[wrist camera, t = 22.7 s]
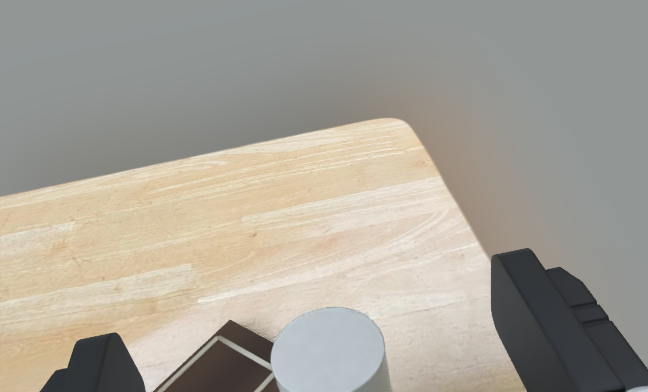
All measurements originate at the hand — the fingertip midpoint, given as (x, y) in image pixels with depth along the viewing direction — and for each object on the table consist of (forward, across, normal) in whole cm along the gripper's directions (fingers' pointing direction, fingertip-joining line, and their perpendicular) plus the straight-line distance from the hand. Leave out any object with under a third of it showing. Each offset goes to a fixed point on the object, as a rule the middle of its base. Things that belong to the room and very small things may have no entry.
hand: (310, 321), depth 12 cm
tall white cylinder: (+6, 0, +17) cm, 18 cm away
